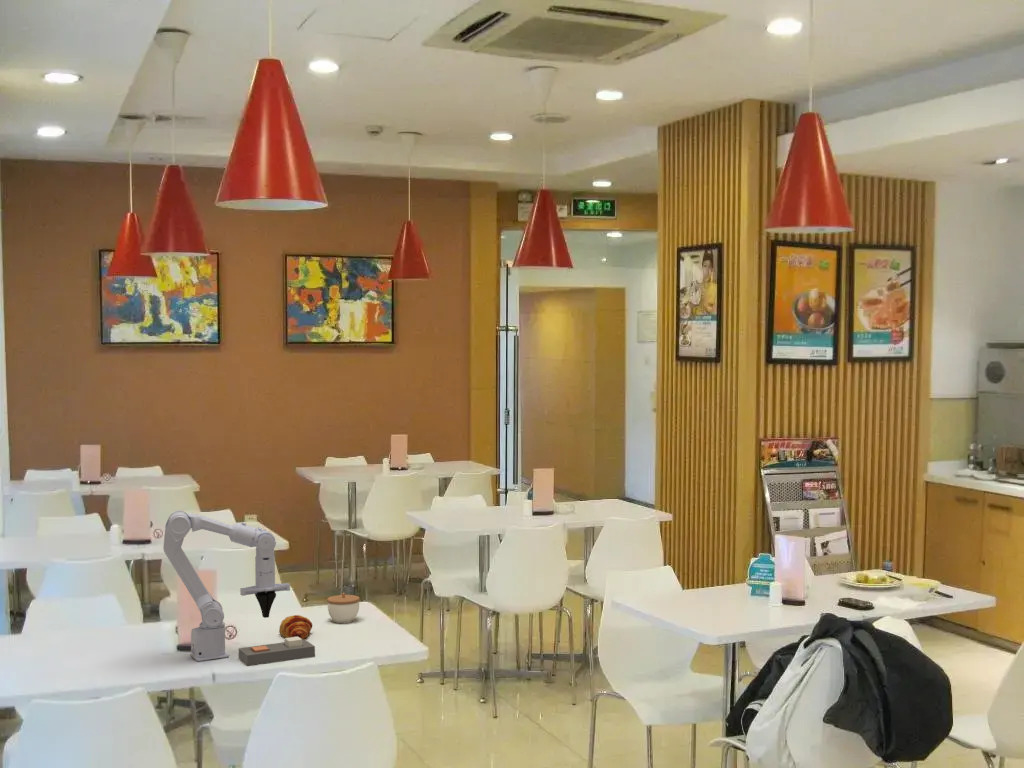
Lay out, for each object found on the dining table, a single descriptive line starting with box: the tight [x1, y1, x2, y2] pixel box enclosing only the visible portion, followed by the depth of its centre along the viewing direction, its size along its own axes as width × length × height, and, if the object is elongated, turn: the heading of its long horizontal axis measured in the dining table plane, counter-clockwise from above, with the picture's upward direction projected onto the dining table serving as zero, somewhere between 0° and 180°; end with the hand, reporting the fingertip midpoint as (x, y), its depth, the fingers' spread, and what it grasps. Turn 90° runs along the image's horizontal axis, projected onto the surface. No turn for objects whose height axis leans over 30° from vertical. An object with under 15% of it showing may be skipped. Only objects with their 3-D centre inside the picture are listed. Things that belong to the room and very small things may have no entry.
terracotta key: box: [250, 645, 269, 653], centre depth 310 cm, size 4×4×3 cm
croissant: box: [278, 614, 313, 640], centre depth 340 cm, size 21×10×8 cm, turn 19°
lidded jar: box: [326, 592, 360, 624], centre depth 358 cm, size 11×11×9 cm
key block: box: [238, 639, 316, 667], centre depth 313 cm, size 20×9×3 cm, turn 120°
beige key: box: [284, 637, 303, 648], centre depth 315 cm, size 4×4×3 cm
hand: (265, 616), depth 319 cm, fingers closed
